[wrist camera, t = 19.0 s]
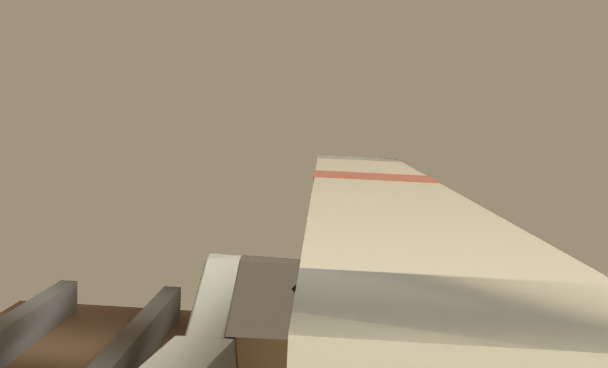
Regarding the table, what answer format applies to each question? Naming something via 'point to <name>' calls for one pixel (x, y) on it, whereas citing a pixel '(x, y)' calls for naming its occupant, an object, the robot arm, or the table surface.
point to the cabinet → (87, 330)
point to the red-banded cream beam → (433, 281)
